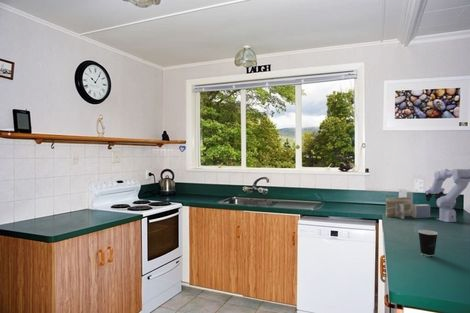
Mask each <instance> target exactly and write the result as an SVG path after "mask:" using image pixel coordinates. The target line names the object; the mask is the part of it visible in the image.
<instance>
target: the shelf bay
mask: <svg viewBox="0 0 470 313" xmlns="http://www.w3.org/2000/svg"><path fill="white" fill-rule="evenodd" d="M391 217H392V218H394V217H395V218H399V219H401V220H402V219H403V220H405V217H412V211H411V198H410V197H401V198H399V197H386V198H385V218H391Z"/></svg>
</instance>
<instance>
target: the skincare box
mask: <svg viewBox="0 0 470 313" xmlns="http://www.w3.org/2000/svg"><path fill="white" fill-rule="evenodd" d="M401 197H410V198H411V212H412V205H414V191H410V190H407V189H401V188H400V189H398V198H401Z"/></svg>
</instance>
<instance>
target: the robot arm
mask: <svg viewBox="0 0 470 313" xmlns="http://www.w3.org/2000/svg"><path fill="white" fill-rule="evenodd" d="M433 176H434V180H433V183H432V186H430V187H429V189H428V190H425V192H424V194H425V197H426V198H425V199H426V201H427V202H430V201H431V198H432V197H433V195H432V194H435V195H434V199H435V200H436V206H437V207H438V208H439V209H438V210H439V211H438V212H439V218H436V220H438V221H442V222H445V223H454V222H456V223H457V217H456V216H457V212H456V210H455V209H454V207H455V206H456V203H457V200H456V199H457V198H458V197H459V196H460V195H461V194H462V193H463V191H465V189H467V186H468V185H469V183H470V168H469V169H468V168H467V169H465V168H463V169H462V168H461V169H460V168H453V169H447V168H446V169H444V170H440V171H434V175H433ZM452 177H453V178H452ZM449 178H452V179H453V183H454V184H455V185H453V187H451V189H450V190H449V191H448V193H447V194H446V195H444V194H445V193H444V192H445V188H443V183H444V182H445V181H446V180H447V179H449ZM443 195H444V196H443Z"/></svg>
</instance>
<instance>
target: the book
mask: <svg viewBox="0 0 470 313" xmlns="http://www.w3.org/2000/svg"><path fill="white" fill-rule="evenodd" d="M411 218H416V219H419V218H431V205H430V204H413V205H412V211H411Z"/></svg>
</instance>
